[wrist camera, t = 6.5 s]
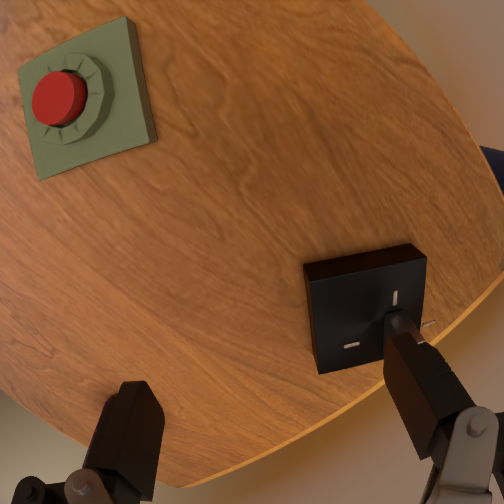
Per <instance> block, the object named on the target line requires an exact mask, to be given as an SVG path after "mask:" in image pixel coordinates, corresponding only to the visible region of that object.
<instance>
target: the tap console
mask: <svg viewBox="0 0 504 504" xmlns="http://www.w3.org/2000/svg"><path fill="white" fill-rule="evenodd" d="M426 264H427V256H425V255H424V254H423V253H422V252H421V251H420V250H418V249H417V248H416V247H415V246H414V245H412V244H411V243H410V244H405V245H400V246H395V247H390V248H385V249H380V250H375V251H370V252H365V253H360V254H355V255H350V256H345V257H340V258H335V259H330V260H325V261H319V262H314V263H309V264H304V265H303V270H304V278H305V286H306V294H307V302H308V310H309V319H310V328H311V337H312V347H313V355H314V359H315V362H316V366H317V370H318V374H319V375H320V374H325V373H329V372H334V371H338V370H343V369H347V368H351V367H355V366H359V365H363V364H367V363H371V362H375V361H379V360H382V359H383V358H382V351H383V337H384V321H385V314H387V313H391V312H395V311H399V310H404V311H405V313H406V314H407V315H408V317H409V318H410V319H411V321H412V322H413V324H414V325H415V326H416V328H417V329H418V331H419V332H420V326H421V318H422V310H423V300H424V290H425V278H426ZM435 323H436V320H433V321H430V322H426V323H423V327H426V326H429V325H433V324H435Z"/></svg>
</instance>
